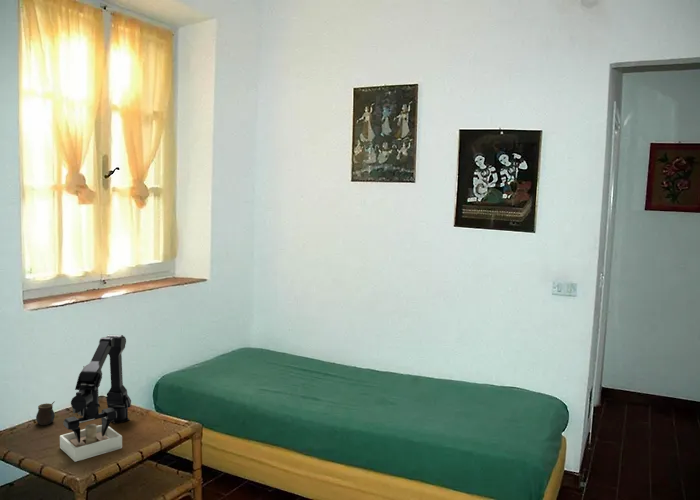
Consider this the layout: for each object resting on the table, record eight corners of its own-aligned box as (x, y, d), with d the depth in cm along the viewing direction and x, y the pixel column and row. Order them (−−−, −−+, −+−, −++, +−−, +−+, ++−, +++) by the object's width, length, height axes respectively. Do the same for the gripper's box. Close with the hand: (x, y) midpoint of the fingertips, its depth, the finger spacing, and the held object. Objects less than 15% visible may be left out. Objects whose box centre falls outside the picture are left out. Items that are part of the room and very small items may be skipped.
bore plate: (100, 436, 238) (100, 431, 238) (112, 446, 229) (112, 441, 229) (69, 444, 229) (69, 439, 229) (81, 455, 221) (81, 450, 221)
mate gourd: (38, 420, 255) (38, 398, 254) (57, 419, 256) (57, 397, 255) (33, 426, 248) (33, 404, 247) (53, 426, 249) (53, 403, 248)
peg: (94, 442, 232) (94, 423, 231) (98, 445, 229) (98, 426, 229) (84, 445, 229) (83, 425, 229) (87, 448, 227) (87, 428, 226)
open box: (105, 435, 241) (105, 423, 241) (122, 448, 230) (122, 436, 230) (59, 447, 229) (59, 435, 228) (74, 461, 217) (74, 449, 217)
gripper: (106, 390, 240) (106, 426, 241) (58, 400, 227) (58, 439, 228) (117, 397, 232) (117, 435, 234) (68, 408, 219) (69, 448, 220)
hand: (91, 439), depth 229 cm, fingers open, 9 cm apart
